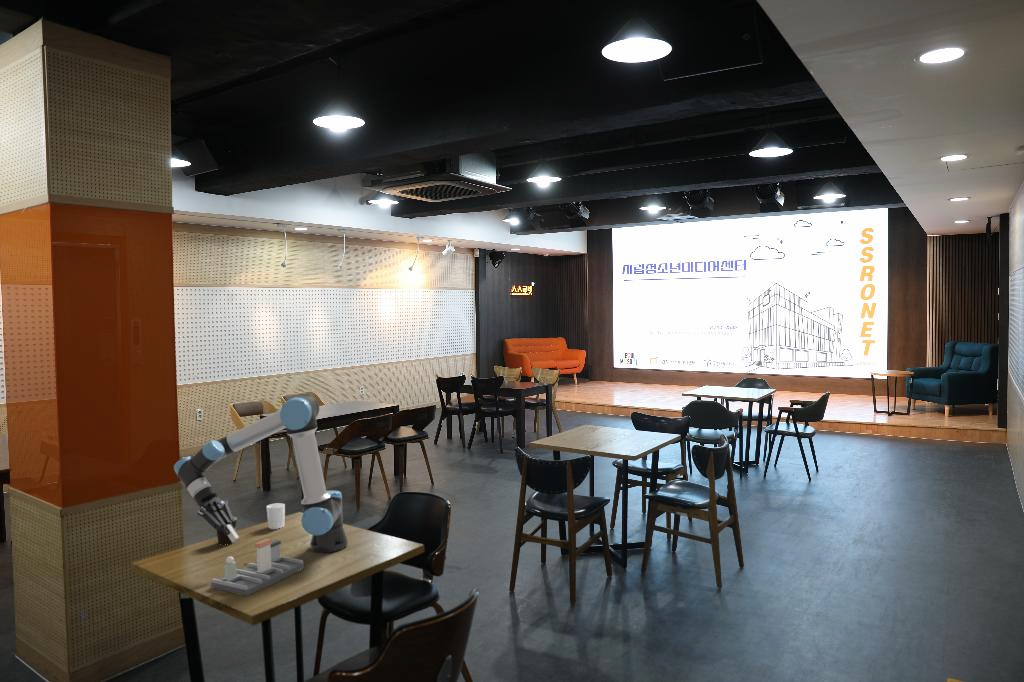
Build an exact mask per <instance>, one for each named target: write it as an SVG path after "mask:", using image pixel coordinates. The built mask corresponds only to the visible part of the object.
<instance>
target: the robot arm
mask: <svg viewBox="0 0 1024 682" xmlns="http://www.w3.org/2000/svg"><path fill="white" fill-rule="evenodd" d="M319 413H320V404H319V401H318V400H317V398H315V397H314V396H312V395H310V394H305V393H303V394H298V395H297V396H294V397H292V398H290V399H288V400H287V401H285V403H283V405H282V406H281V409H280V410H277V411H275V412H273V413H271V414H268V415H267V416H264V417H263V418H260V419H258V420H257V421H254V422H252V423H251V424H248V425H247V426H244V427H242V428H240V429H238V430H236V431H234V432H232V433H229V434H228V435H226V436H223V437H221V438H219V439H217V440H215V439H211V440H209V441H208V442H207V443H205V444H204V445H203V446H202V447H201V448H200V449H199V450H198V451H197V452H196V453H195V454H194V455H193V456H192V457H190V456H186V457H183V458H182V457H181V459H179V460H177V462H176V463H175V464H174V465H173V470H174V471H175V474H176V476H177V478H178V479H179V480H180V481H181V482H182V484H183V485H184V487H185V488H186V489H187V492H189V495H190V496H191V497H192V498H193V501H194V502H195V503H196V504H197V506H199V509H198V511H197V512H196V513H197V515H198V516H200V517H202V519H204V520H205V521H206V522H207V523H208V524H209V525H210V526H211V527H212V528H213V529H215V531H216V530H217V529H219V530H220V531H223V532H224V533H225V535H226V536H228V537H229V539H230V540H231V541H232V543H233V542H235V543H236V542H237V540H239V538H240V537H239V535H238V533H237V532H235V529H234V527H233V526H232V522H233V521H234V518H233V517H234V516H233V514H232V511H231V508H230V507H229V501H228V500H227V499H225V500H222V499H221V498H219V497H218V495H217V492H216V491H215V489H214V488H213V487H212V486H211V483H210V482H209V481H208V479H207V478H206V477H205V475H204V473H206V472H207V471H208V470H209V469H210V468H211V467H212V466H213V465H214V464H216V463H217V462H220V461H221V460H223V459H225V458H226V457H228V456H230V455H232V454H234V453H237V452H239V451H241V450H242V449H244V448H247V447H249V446H251V445H253V444H255V443H257V442H259V441H261V440H264V439H265V438H268V437H270V436H272V435H273V434H274V435H275V434H276V433H278V432H280V431H282V430H284V429H285V431H286V435H287V436H289V437H290V438H291V439H292V444H293V449H294V453H295V459H296V463H297V470H298V474H299V478H300V483H301V489H302V493H303V499H302V500H301V501H300V504H301V509H302V515H301V520H300V521H301V526H302V528H303V530H304V531H305V533H307V534H309V535H312V536H311V539H310V541H309V548H310V551H312V550H313V551H312V552H314V551H315V552H314V553H319V552H327V553H333V552H332V551H334V552H338V551H340V550H339V549H341V550H343V549H342V548H344V547H345V546H347V545H349V539H348V536H347V533H346V531H345V529H344V524H343V523H344V522H343V520H344V519H343V496H342V494H343V493H342V492H341V491H339V490H327V487H326V484H325V478H324V474H323V469H322V462H321V457H320V453H319V449H318V442H317V438H316V434H315V433H316V431H317V429H318V427H319V426H318V422H317V417H318V416H319ZM233 544H234V543H233ZM347 547H348V546H347ZM344 549H345V548H344ZM337 550H338V551H337Z"/></svg>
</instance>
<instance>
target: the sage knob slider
mask: <svg viewBox="0 0 1024 682" xmlns="http://www.w3.org/2000/svg"><path fill="white" fill-rule="evenodd" d="M225 562H226V564H224V565H223V570H224V572H223V573H224V576H223V577H224V578H222V577H221V578H222V579H221V580H223V581H227V582H234V581H236V580H238V579H240V578H241V577H240V575H237V569H238V568H237V561H235V558H234V557H233V556H231V555H230V556H227V558H226V560H225Z"/></svg>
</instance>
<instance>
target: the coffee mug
mask: <svg viewBox="0 0 1024 682" xmlns="http://www.w3.org/2000/svg"><path fill="white" fill-rule="evenodd" d="M233 518H234V521H233V522H232V526H233V527H234V529H235V532H236V531H237V530H236V529H237V517H235V516H233ZM215 531H216V532H215V533H216V537H217V542H218V545H219V544H221V545H225V544H226V546H228V545H227V544H231V545H233V544H235V543H234V542H233V544H232V541H231V540H230V539H229V537H228V536H226V535H225V533H224V532H223V531H220V530H219V529H217V530H216V529H215ZM236 533H237V532H236ZM221 545H220V546H221Z"/></svg>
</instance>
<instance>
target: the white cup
mask: <svg viewBox="0 0 1024 682" xmlns="http://www.w3.org/2000/svg"><path fill="white" fill-rule="evenodd" d="M266 514H267V523H268V529H269V528H270V529H269V530H280V529H283V528H284V527H285V520H286V518H285V517H286V504H285V503H284V502H283V503H281V502H278V503H277V502H275V503H271V504H268V505H266ZM272 521H273V522H272ZM282 527H283V528H282ZM279 528H280V529H279Z"/></svg>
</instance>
